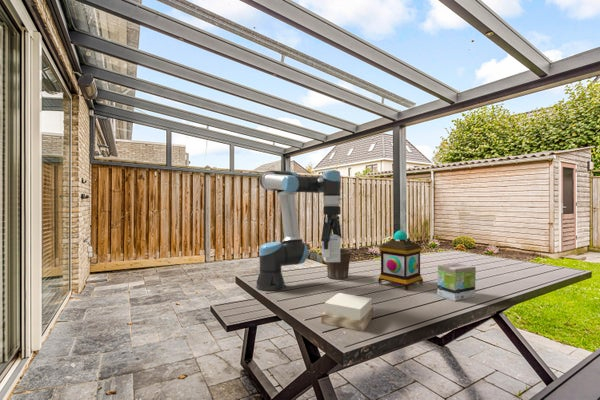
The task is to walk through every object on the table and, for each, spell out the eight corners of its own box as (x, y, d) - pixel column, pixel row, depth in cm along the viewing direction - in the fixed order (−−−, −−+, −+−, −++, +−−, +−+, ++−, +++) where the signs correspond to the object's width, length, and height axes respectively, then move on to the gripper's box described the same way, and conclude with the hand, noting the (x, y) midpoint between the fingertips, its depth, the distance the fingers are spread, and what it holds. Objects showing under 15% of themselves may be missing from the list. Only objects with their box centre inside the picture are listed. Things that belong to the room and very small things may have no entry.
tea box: (455, 301, 137) (455, 269, 137) (436, 295, 146) (436, 265, 146) (476, 297, 144) (476, 266, 144) (456, 291, 153) (456, 262, 153)
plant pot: (353, 281, 172) (353, 252, 172) (325, 280, 173) (325, 252, 173) (349, 274, 189) (349, 248, 189) (323, 274, 189) (323, 248, 189)
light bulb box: (321, 257, 138) (321, 234, 138) (336, 257, 138) (336, 234, 138) (325, 262, 127) (325, 237, 127) (341, 262, 128) (341, 236, 128)
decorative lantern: (407, 292, 151) (407, 232, 151) (374, 284, 166) (374, 230, 166) (426, 285, 164) (426, 230, 164) (394, 278, 179) (394, 227, 179)
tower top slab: (324, 313, 114) (324, 302, 114) (338, 302, 126) (338, 292, 126) (360, 320, 107) (360, 309, 107) (371, 308, 119) (371, 298, 119)
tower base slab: (321, 324, 113) (321, 314, 113) (335, 310, 127) (335, 301, 127) (363, 332, 106) (363, 321, 106) (373, 317, 120) (373, 307, 120)
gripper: (330, 206, 120) (330, 260, 120) (348, 205, 142) (348, 250, 142) (313, 205, 123) (313, 258, 123) (333, 205, 145) (333, 249, 145)
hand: (331, 254), depth 133 cm, fingers closed on light bulb box, 12 cm apart
